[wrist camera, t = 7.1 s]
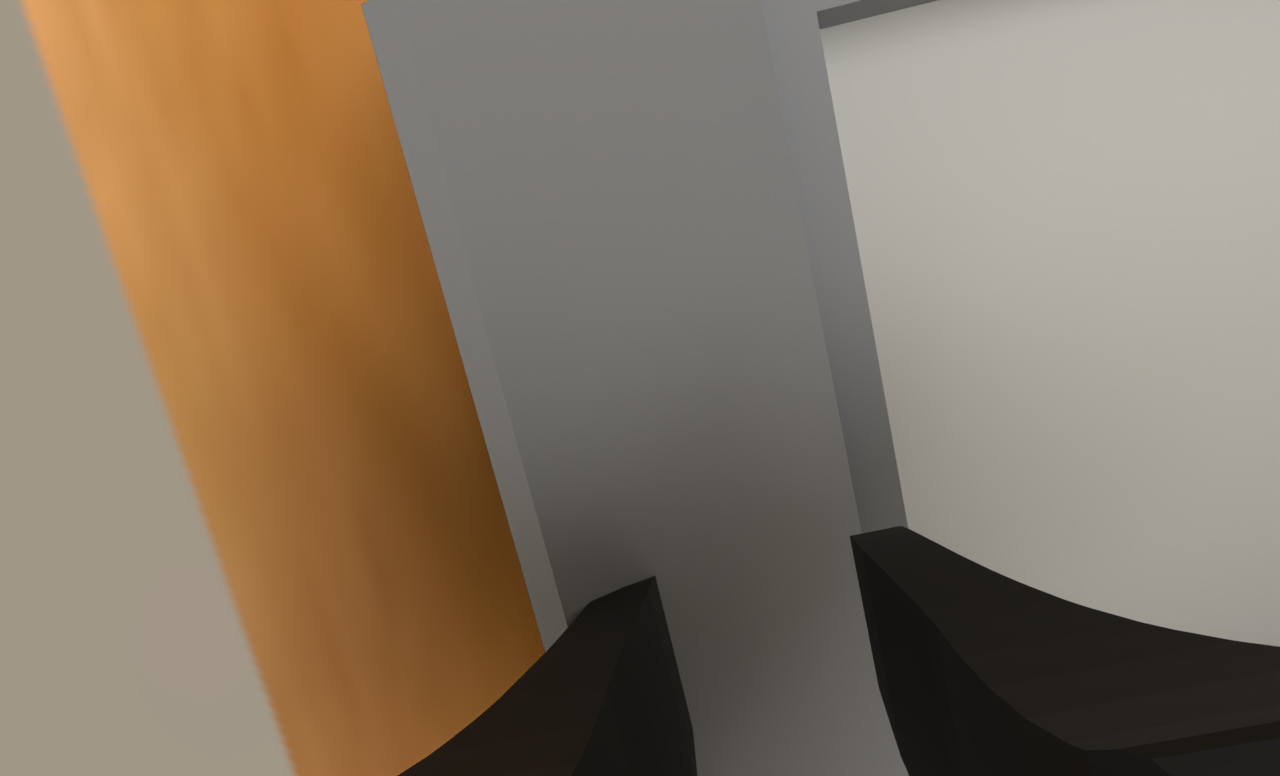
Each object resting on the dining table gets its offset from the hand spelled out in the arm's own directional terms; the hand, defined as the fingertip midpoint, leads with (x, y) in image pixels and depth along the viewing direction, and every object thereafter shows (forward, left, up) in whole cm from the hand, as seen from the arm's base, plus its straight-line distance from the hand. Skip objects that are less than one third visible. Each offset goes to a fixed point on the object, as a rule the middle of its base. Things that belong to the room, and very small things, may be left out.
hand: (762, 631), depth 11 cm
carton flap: (0, 0, -1) cm, 1 cm away
